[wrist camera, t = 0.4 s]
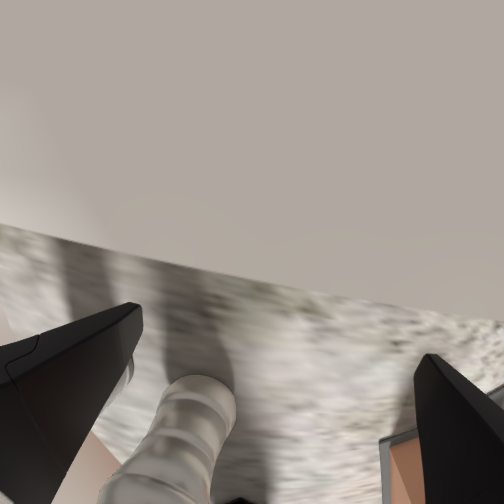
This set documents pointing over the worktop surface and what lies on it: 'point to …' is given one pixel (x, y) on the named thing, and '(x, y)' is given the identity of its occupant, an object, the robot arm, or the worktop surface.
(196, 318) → the worktop surface
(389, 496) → the mat
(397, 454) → the t block
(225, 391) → the plastic bottle
